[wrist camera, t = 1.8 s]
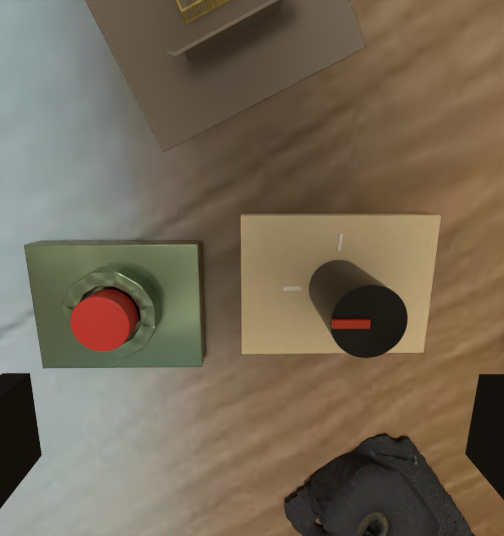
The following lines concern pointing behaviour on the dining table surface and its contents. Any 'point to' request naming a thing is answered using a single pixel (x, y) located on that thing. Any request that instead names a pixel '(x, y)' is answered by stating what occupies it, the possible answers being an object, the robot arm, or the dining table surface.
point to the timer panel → (318, 253)
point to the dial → (357, 309)
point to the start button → (104, 320)
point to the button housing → (132, 285)
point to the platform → (219, 54)
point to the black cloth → (376, 496)
